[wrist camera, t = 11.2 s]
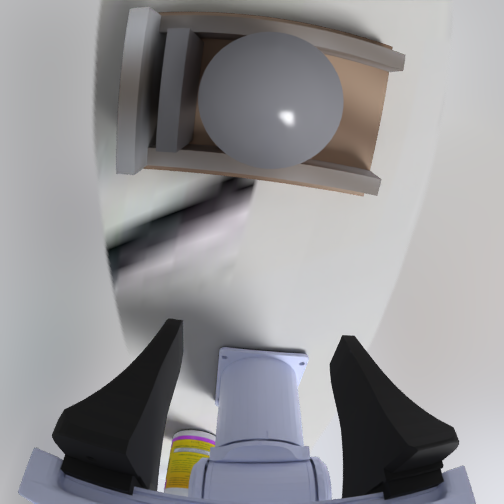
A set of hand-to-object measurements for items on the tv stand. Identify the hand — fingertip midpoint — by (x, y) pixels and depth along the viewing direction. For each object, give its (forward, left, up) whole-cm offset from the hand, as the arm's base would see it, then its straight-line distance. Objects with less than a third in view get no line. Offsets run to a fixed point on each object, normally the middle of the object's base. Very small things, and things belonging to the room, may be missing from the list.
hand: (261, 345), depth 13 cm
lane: (+10, +1, -9) cm, 14 cm away
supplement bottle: (-30, +4, -10) cm, 32 cm away
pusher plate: (+10, +5, -8) cm, 14 cm away
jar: (+10, +1, -8) cm, 13 cm away
